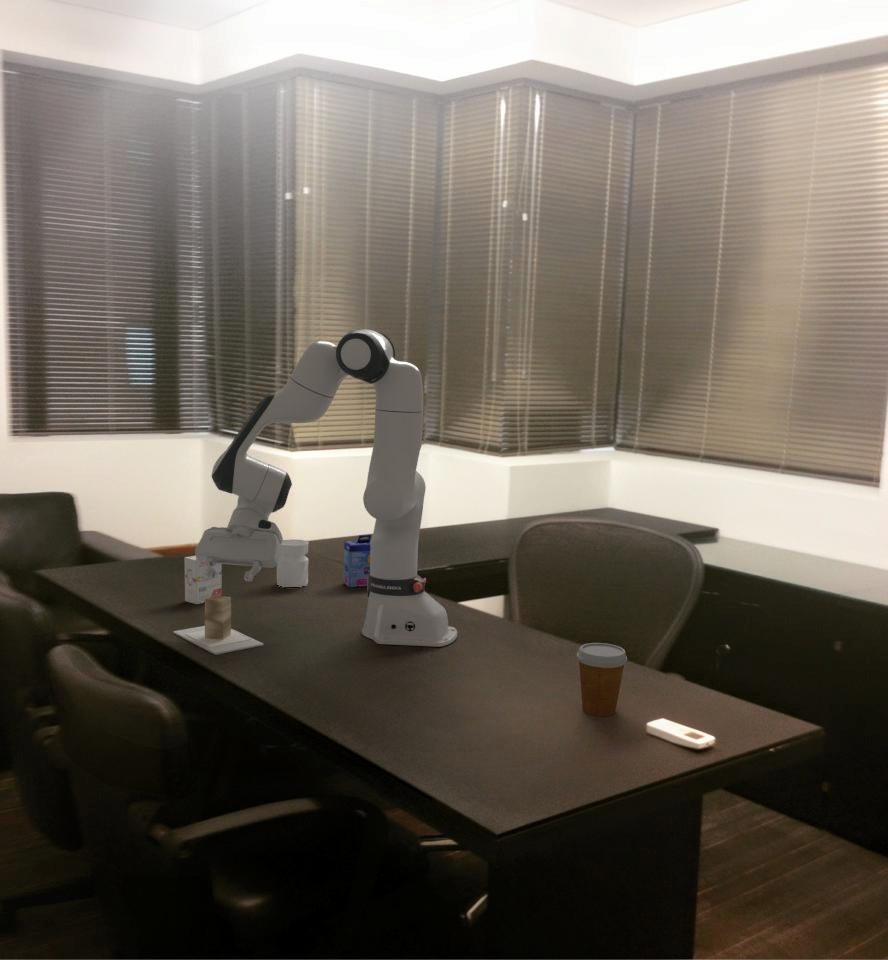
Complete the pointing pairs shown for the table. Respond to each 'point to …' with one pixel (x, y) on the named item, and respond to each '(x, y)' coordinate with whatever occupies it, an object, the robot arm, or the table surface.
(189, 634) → the grey mat
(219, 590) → the ink cartridge box
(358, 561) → the ink cartridge box
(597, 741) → the table surface
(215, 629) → the wooden block
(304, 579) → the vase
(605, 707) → the disposable coffee cup
